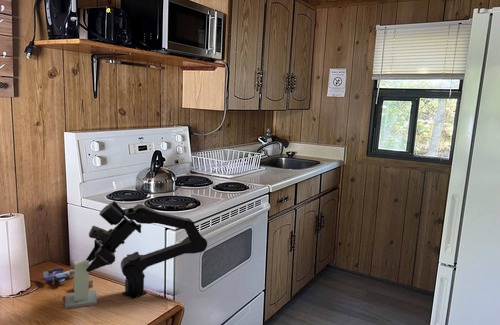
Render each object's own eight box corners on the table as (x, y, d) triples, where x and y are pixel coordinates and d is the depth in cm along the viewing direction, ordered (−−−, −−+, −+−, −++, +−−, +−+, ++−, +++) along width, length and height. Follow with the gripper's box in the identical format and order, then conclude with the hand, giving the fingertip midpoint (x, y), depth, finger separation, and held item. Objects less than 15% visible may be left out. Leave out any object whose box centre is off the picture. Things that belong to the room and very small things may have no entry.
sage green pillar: (88, 294, 140) (88, 260, 139) (88, 299, 136) (88, 264, 135) (74, 295, 138) (74, 261, 137) (74, 301, 134) (74, 265, 133)
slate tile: (96, 292, 144) (96, 289, 144) (97, 304, 135) (97, 301, 134) (65, 296, 140) (65, 293, 140) (65, 308, 131) (65, 306, 130)
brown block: (88, 285, 150) (89, 277, 150) (92, 287, 148) (92, 280, 148) (73, 289, 145) (73, 281, 145) (76, 292, 143) (76, 284, 143)
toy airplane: (87, 275, 158) (87, 267, 158) (66, 290, 145) (66, 280, 144) (58, 272, 160) (58, 263, 160) (34, 286, 147) (34, 276, 146)
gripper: (102, 212, 145) (69, 243, 142) (105, 225, 128) (67, 261, 125) (123, 231, 149) (92, 262, 146) (129, 247, 132) (94, 282, 129)
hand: (86, 266), depth 137 cm, fingers open, 9 cm apart
